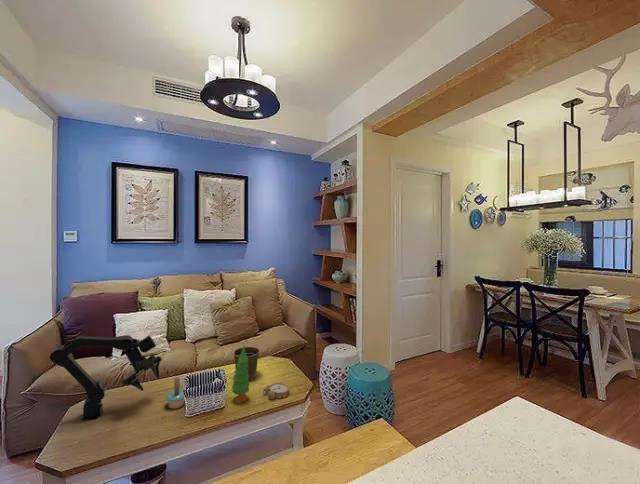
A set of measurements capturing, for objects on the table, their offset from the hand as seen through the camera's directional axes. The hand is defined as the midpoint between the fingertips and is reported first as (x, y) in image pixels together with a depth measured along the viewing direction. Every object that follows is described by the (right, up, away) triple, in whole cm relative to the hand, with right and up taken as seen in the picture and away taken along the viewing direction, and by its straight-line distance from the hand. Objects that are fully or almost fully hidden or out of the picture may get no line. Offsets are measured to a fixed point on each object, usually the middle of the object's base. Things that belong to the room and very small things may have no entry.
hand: (151, 384), depth 148 cm
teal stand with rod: (+13, -7, +2) cm, 14 cm away
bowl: (+13, -12, +2) cm, 17 cm away
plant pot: (+41, -12, +32) cm, 53 cm away
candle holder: (+62, -13, +14) cm, 65 cm away
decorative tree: (+44, -12, +7) cm, 46 cm away
